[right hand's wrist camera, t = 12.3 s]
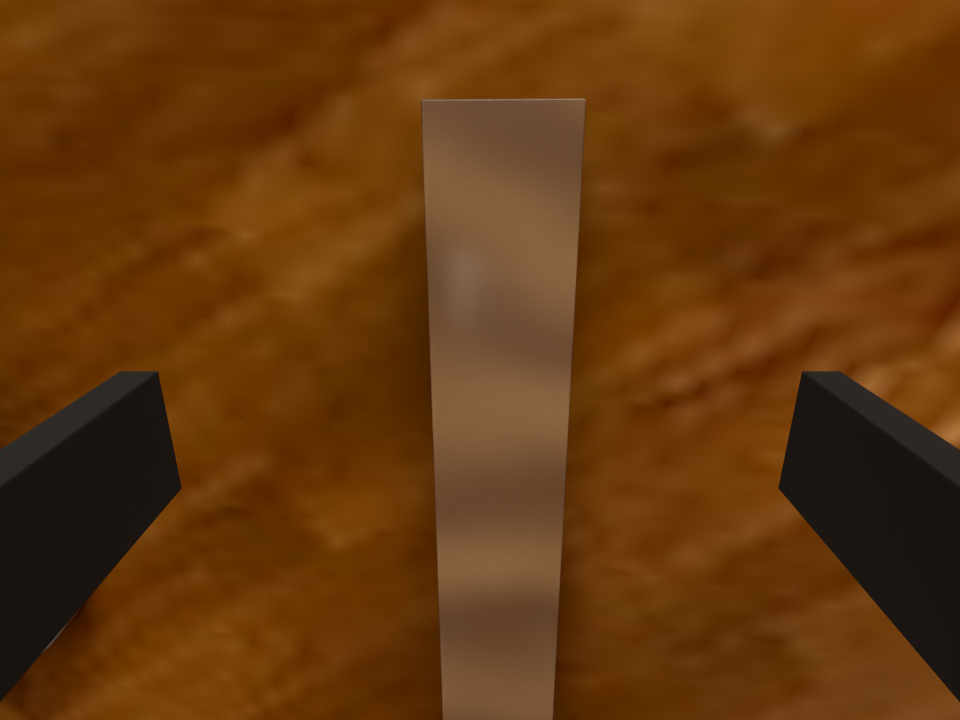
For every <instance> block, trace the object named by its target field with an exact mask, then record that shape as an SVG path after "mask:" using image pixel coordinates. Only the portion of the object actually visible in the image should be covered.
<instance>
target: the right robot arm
mask: <svg viewBox="0 0 960 720" xmlns="http://www.w3.org/2000/svg"><path fill="white" fill-rule="evenodd" d="M180 489H181V483H180V478H179V473H178V468H177V463H176V459H175V454H174V449H173V444H172V439H171V434H170V429H169V424H168V419H167V414H166V409H165V404H164V399H163V394H162V389H161V385H160V380H159V375H158V372H119V373H117V374H116V375H114V376H113V377H111V378H110V379H108V380H107V381H105V382H103V383H102V384H100V385H99V386H97V387H96V388H94V389H93V390H91V391H90V392H88V393H87V394H85V395H84V396H82V397H81V398H79V399H77V400H76V401H74V402H73V403H71V404H70V405H68V406H67V407H65V408H64V409H62V410H61V411H59V412H58V413H56V414H55V415H53V416H52V417H50V418H48V419H47V420H45V421H44V422H42V423H41V424H39V425H38V426H36V427H35V428H33V429H32V430H30V431H29V432H27V433H26V434H24V435H23V436H21V437H19V438H18V439H16V440H15V441H13V442H12V443H10V444H9V445H7V446H6V447H4V448H3V449H1V450H0V702H1V700H2V699H3V698H4V697H5V696H6V695H7V693H8V692H9V691H10V690H11V689H12V687H13V686H14V685H15V684H16V683H17V682H18V680H19V679H20V678H21V677H22V676H23V674H24V673H25V672H26V671H27V670H28V669H29V667H30V666H31V665H32V664H33V663H34V662H35V660H36V659H37V658H38V657H39V656H40V654H41V653H42V652H43V651H44V650H46V649H47V648H48V647H49V646H50V645H51V644H52V643H53V642H54V640H55V639H56V638H57V637H58V636H59V635H60V634H61V633H62V631H63V630H64V629H65V628H66V627H67V626H68V625H69V623H70V622H71V621H72V620H73V619H74V618H75V616H76V615H77V613H78V612H79V610H80V609H81V607H82V605H83V604H84V603H85V601H86V600H87V599H88V598H89V597H90V595H91V594H92V593H93V592H94V591H95V590H96V588H97V587H98V586H99V585H100V584H101V582H102V581H103V580H104V579H105V578H106V577H107V575H108V574H109V573H110V572H111V571H112V570H113V568H114V567H115V566H116V565H117V564H118V562H119V561H120V560H121V559H122V558H123V557H124V555H125V554H126V553H127V552H128V551H129V549H130V548H131V547H132V546H133V545H134V544H135V542H136V541H137V540H138V539H139V538H140V536H141V535H142V534H143V533H144V532H145V531H146V529H147V528H148V527H149V526H150V525H151V524H152V522H153V521H154V520H155V519H156V518H157V516H158V515H159V514H160V513H161V512H162V511H163V509H164V508H165V507H166V506H167V505H168V503H169V502H170V501H171V500H172V499H173V498H174V496H175V495H176V494H177V493H178V492H179V490H180ZM779 489H780V490H781V492H782V493H783V494H784V495H785V496H786V498H787V499H788V500H789V501H790V502H791V503H792V505H793V506H794V507H795V508H796V509H797V511H798V512H799V513H800V514H801V515H802V516H803V518H804V519H805V520H806V521H807V522H808V524H809V525H810V526H811V527H812V528H813V529H814V531H815V532H816V533H817V534H818V535H819V536H820V538H821V539H822V540H823V541H824V542H825V544H826V545H827V546H828V547H829V548H830V549H831V551H832V552H833V553H834V554H835V555H836V557H837V558H838V559H839V560H840V561H841V562H842V564H843V565H844V566H845V567H846V568H847V570H848V571H849V572H850V573H851V574H852V575H853V577H854V578H855V579H856V580H857V581H858V582H859V584H860V585H861V586H862V587H863V588H864V590H865V591H866V592H867V593H868V594H869V595H870V597H871V598H872V599H873V600H874V601H875V603H876V604H877V605H878V606H879V607H880V608H881V610H882V611H883V612H884V613H885V614H886V616H887V617H888V618H889V619H890V620H891V621H892V623H893V624H894V625H895V626H896V627H897V628H898V630H899V631H900V632H901V633H902V634H903V636H904V637H905V638H906V639H907V640H908V641H909V643H910V644H911V645H912V646H913V647H914V649H915V650H916V651H917V652H918V653H919V654H920V656H921V657H922V658H923V659H924V660H925V662H926V663H927V664H928V665H929V666H930V667H931V669H932V670H933V671H934V672H935V673H936V674H937V676H938V677H939V678H940V679H941V680H942V682H943V683H944V684H945V685H946V686H947V687H948V689H949V690H950V691H951V692H952V693H953V695H954V696H955V697H956V698H957V699H958V700H959V702H960V450H959V449H957V448H956V447H954V446H953V445H951V444H950V443H948V442H947V441H945V440H944V439H942V438H941V437H939V436H937V435H936V434H934V433H933V432H931V431H930V430H928V429H927V428H925V427H924V426H922V425H921V424H919V423H918V422H916V421H915V420H913V419H912V418H910V417H908V416H907V415H905V414H904V413H902V412H901V411H899V410H898V409H896V408H895V407H893V406H892V405H890V404H889V403H887V402H886V401H884V400H883V399H881V398H879V397H878V396H876V395H875V394H873V393H872V392H870V391H869V390H867V389H866V388H864V387H863V386H861V385H860V384H858V383H857V382H855V381H853V380H852V379H850V378H849V377H847V376H846V375H844V374H843V373H841V372H802V375H801V380H800V385H799V389H798V394H797V399H796V404H795V409H794V414H793V419H792V424H791V429H790V434H789V439H788V444H787V449H786V454H785V458H784V463H783V468H782V473H781V478H780V483H779Z"/></svg>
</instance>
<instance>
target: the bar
mask: <svg viewBox="0 0 960 720" xmlns="http://www.w3.org/2000/svg"><path fill="white" fill-rule="evenodd" d="M585 108H586V99H585V98H564V99H422V100H421V117H422V145H423V173H424V201H425V229H426V257H427V286H428V314H429V342H430V370H431V398H432V426H433V454H434V482H435V511H436V539H437V567H438V595H439V623H440V651H441V679H442V707H443V720H553V704H554V685H555V666H556V648H557V629H558V611H559V592H560V573H561V555H562V536H563V518H564V499H565V480H566V462H567V443H568V425H569V406H570V387H571V369H572V350H573V332H574V313H575V294H576V276H577V257H578V239H579V220H580V201H581V183H582V164H583V146H584V127H585Z"/></svg>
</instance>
